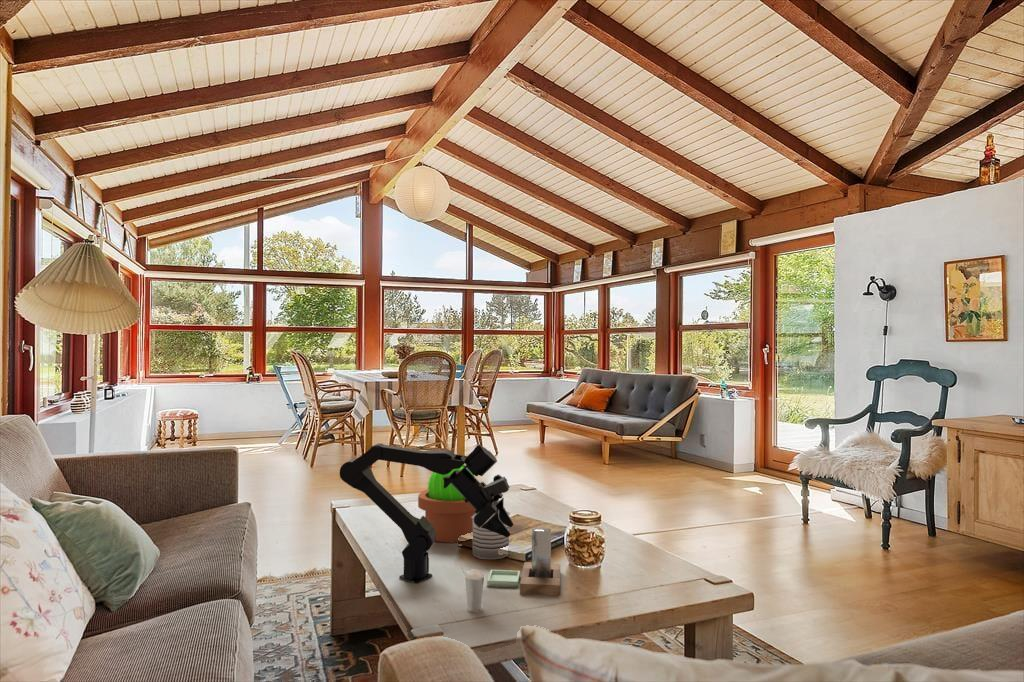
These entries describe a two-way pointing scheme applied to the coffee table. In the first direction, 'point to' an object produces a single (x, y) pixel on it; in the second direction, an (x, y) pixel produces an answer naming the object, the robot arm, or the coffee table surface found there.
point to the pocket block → (540, 581)
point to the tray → (503, 578)
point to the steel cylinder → (541, 552)
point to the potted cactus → (446, 509)
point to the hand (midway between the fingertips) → (510, 530)
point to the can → (488, 542)
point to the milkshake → (474, 589)
